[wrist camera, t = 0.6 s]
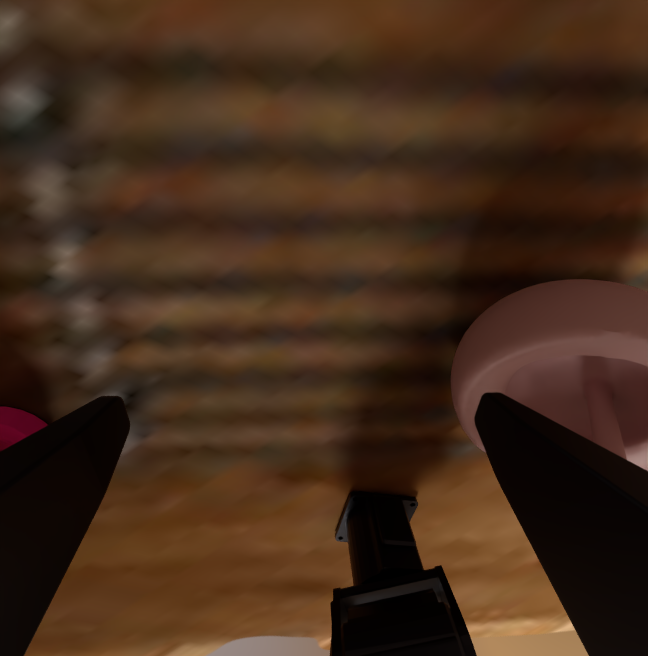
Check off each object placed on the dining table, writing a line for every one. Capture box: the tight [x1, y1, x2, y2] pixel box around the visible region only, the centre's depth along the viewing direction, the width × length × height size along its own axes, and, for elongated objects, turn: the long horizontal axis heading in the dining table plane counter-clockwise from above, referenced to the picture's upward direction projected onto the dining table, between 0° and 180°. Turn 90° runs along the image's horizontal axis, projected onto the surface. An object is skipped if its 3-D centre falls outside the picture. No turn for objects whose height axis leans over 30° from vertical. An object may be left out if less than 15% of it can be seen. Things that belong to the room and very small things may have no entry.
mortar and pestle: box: [451, 279, 648, 471], centre depth 18 cm, size 12×12×12 cm
